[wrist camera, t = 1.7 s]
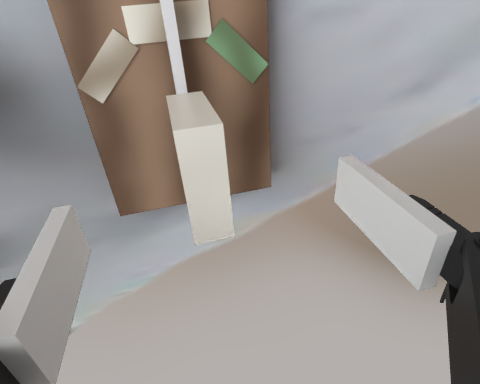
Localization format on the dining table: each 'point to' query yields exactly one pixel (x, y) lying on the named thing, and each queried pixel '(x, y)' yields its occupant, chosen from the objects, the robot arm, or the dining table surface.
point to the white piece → (198, 148)
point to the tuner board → (168, 88)
